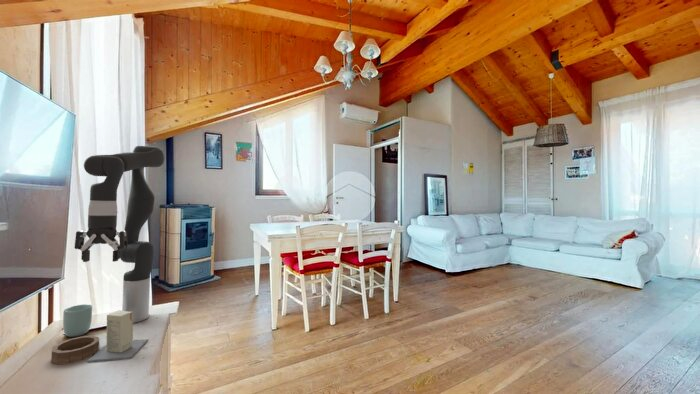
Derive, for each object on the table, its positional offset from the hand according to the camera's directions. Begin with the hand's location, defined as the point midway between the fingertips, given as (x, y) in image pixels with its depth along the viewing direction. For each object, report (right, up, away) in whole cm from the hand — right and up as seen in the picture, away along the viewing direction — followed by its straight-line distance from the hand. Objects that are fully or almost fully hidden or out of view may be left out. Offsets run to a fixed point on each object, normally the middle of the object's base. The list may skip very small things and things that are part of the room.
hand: (101, 261), depth 98 cm
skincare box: (+7, -30, -1) cm, 31 cm away
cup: (-18, -30, +10) cm, 36 cm away
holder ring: (-5, -30, -4) cm, 31 cm away
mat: (+7, -30, -1) cm, 31 cm away
